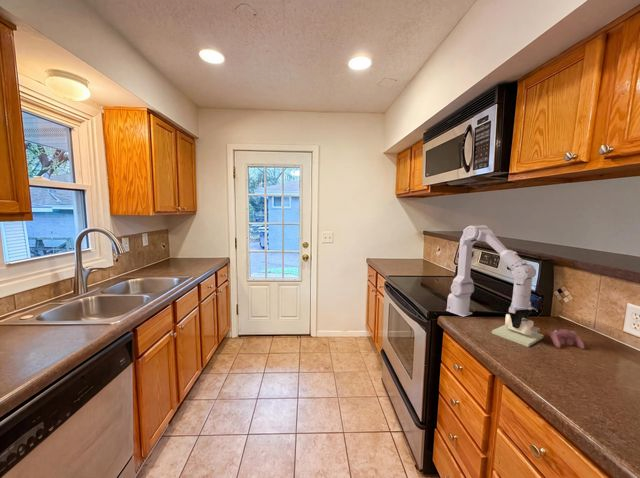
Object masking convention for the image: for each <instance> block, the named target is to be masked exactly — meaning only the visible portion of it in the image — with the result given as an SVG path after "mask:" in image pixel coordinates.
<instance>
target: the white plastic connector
mask: <svg viewBox="0 0 640 478" xmlns="http://www.w3.org/2000/svg"><path fill="white" fill-rule="evenodd" d="M504 320H505V321H504V325H505V327H506V328H509V329H512V330H514V331H517V332H520V333H523V334H526V335H532V332H536V333H540V332H541V328H539V327H538V326H537V327H536V326H534V322H535V321H534V320H531V319H528V318H527V319H525V318H522V321H521V324H520V327H519V329H518V328H515V327H513V326H512V321H511V317H510V314H509V313H506V314H505V319H504Z"/></svg>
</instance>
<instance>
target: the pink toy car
mask: <svg viewBox="0 0 640 478" xmlns="http://www.w3.org/2000/svg"><path fill="white" fill-rule="evenodd" d="M549 337H550V339H551V341H552V343H553V345H554V346H555V347H556V348H558V349H560V348H561V345H564V344H566V345H567V346H572V345H573V344H574V343H575V344H576V345H577V347H578V348H580V349H581V350H584V349H585V346H586V345H585V343H584V342H583V340H582V338H581V337H580V336H579V334H578V333H577V332H576V331H573V330H571V329H570V330H569V329H565V328H558V329H557V328H556V329H553V330H550V331H549ZM563 338H565V340H564V339H563Z"/></svg>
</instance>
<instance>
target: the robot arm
mask: <svg viewBox="0 0 640 478" xmlns="http://www.w3.org/2000/svg"><path fill="white" fill-rule="evenodd" d="M462 232H463V233H462V235H461V237H460V239H459V248H458V260H457V261H458V262H457V275H456V276H455V277H454V278H453V279H452V284H451V285H450V292H451V293H449V294H448V296H447V302H446V303H447V304H446V309H445V311H446V312H449V313H452V314H455V315H458V316H459V317H464V318H465V317H467V316H470V315H473V312H472V311H470V303H471V296H472V294H473V293H474V291H475V285H474V279H472V277H471V269H472V255H473V246H474V245H475V243H476V244H477V242H485V243H487V245H489V246H490V247H491V248H492V249H493V250H494V251H496V253H497V254H499V259H500V260H501V262H503V264H504V265H505V266H507V268H508V269H509V270H510V271H511V275H512V277H513V288H512V289H513V290H512V299H511V303H510V306H509V307H508V309H507V314H510V317H511V321H512V326H513V327H515V328H518V329H519V327H520V324H521V321H522V318H525V319H528V317H529V315H530V314H531V313H532V312H533V311H532V310H533V308H534V307H532V302H531V293H532V285H533V278H534V277H535V276H536V275H537V270H536V268H535V267H534V265H533V264H530V263H528V262H527V261H526V260H523V258H522V257H520V256H519V255H518V252H517V251H514V250H513V249H508V248H507V247H506V246H505V245H504V244H503V243H502V242H501V241H500V239H499V238H498V237H497V236H496V235H495V234H494V232H493V230H492V229H490V228H489V227H488V226H487V225H485V224H483V225H468V226H467V227H465V228H464V229H463V230H462Z"/></svg>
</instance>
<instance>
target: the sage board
mask: <svg viewBox="0 0 640 478" xmlns="http://www.w3.org/2000/svg"><path fill="white" fill-rule="evenodd" d="M491 334H493V335H494V336H495V335H496V336H498V337H501V338H503V339H506V340H508V341H510V342H514V343H517V344H519V345H522V346H525V347H527V348H529V347H531V346H532V345H534V344H536V343H537V342H539V341H540V340H543V339H544V338H545V337H544V334H542V333H540V332H538V333H536V332H532V335H526V334H523V333H520V332H517V331H514V330H512V329H509V328H506V327H505V324H503V325H500V326H498V327H497V328H494V329H492V330H491Z"/></svg>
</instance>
